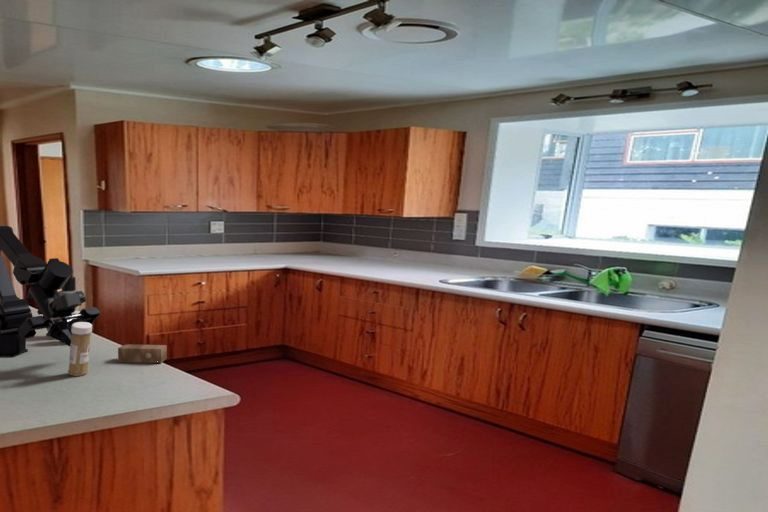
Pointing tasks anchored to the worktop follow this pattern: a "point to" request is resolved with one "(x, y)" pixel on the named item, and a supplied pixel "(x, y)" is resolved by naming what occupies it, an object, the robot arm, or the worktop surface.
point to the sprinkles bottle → (79, 348)
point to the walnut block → (142, 353)
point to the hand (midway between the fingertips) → (76, 347)
